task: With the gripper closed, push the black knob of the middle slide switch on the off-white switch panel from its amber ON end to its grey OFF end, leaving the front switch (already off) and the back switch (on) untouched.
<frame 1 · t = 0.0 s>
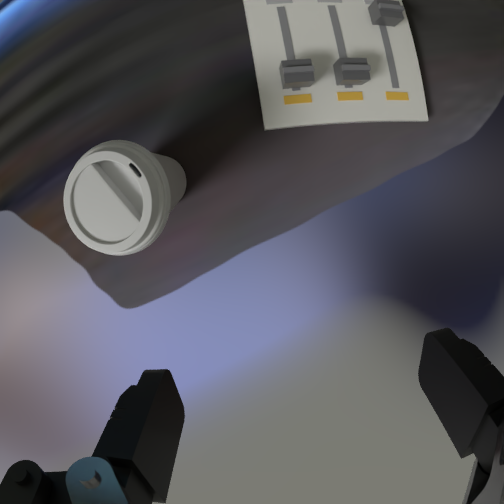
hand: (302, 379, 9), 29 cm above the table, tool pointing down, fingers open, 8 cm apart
middle switch: (352, 71, 28), point 4 cm above the table, slide at 0.0 cm
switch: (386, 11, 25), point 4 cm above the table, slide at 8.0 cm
switch panel: (336, 49, 31), on the table
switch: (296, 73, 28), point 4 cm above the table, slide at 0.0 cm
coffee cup: (160, 182, 36), on the table
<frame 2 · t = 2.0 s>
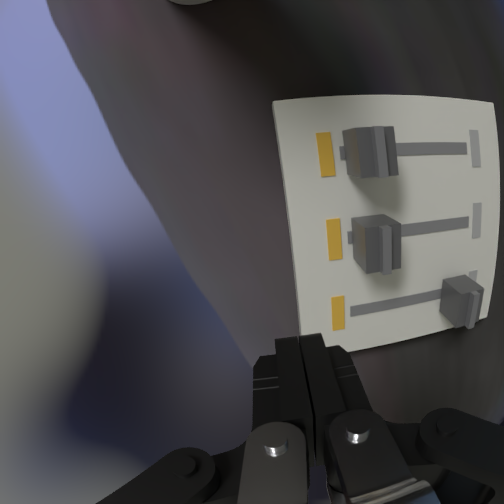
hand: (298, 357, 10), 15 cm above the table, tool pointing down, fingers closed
middle switch: (377, 243, 20), point 4 cm above the table, slide at 0.0 cm
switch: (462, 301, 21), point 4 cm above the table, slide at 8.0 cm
switch panel: (403, 222, 23), on the table
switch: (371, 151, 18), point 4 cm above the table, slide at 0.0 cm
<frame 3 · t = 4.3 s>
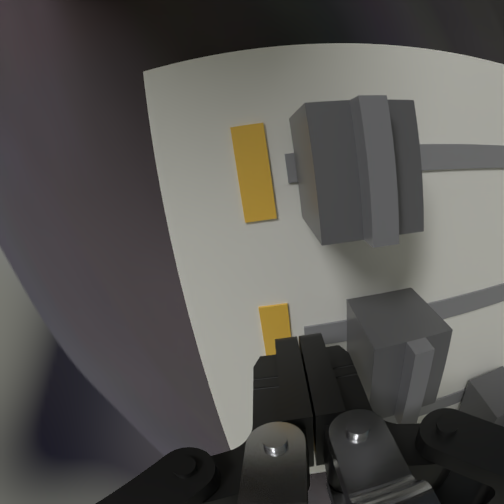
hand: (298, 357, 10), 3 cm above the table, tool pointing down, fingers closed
middle switch: (395, 357, 9), point 4 cm above the table, slide at 1.3 cm, touching gripper
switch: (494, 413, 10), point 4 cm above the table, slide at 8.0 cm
switch panel: (415, 290, 13), on the table
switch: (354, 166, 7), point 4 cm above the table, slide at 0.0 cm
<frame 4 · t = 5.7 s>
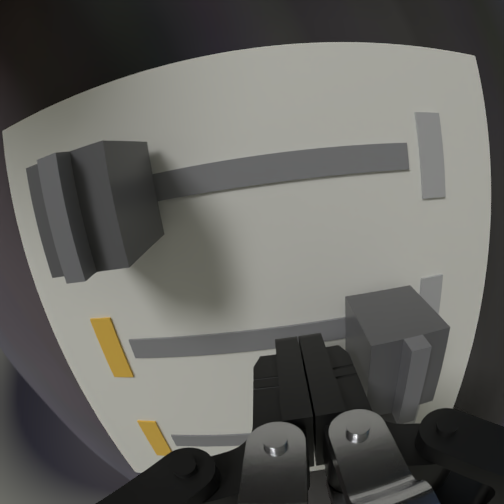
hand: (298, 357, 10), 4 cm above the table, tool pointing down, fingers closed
middle switch: (393, 354, 9), point 4 cm above the table, slide at 8.1 cm, touching gripper
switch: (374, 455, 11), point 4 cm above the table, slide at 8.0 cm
switch panel: (266, 312, 13), on the table
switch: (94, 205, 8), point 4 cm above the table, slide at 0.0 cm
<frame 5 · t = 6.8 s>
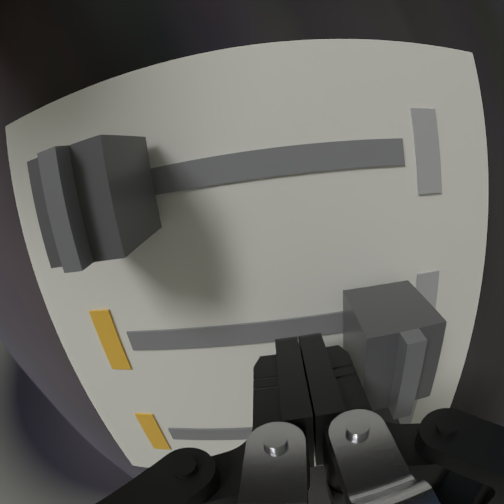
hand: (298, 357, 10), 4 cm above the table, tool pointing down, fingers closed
middle switch: (390, 349, 9), point 4 cm above the table, slide at 8.2 cm, touching gripper
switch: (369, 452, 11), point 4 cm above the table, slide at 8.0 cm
switch panel: (263, 306, 13), on the table
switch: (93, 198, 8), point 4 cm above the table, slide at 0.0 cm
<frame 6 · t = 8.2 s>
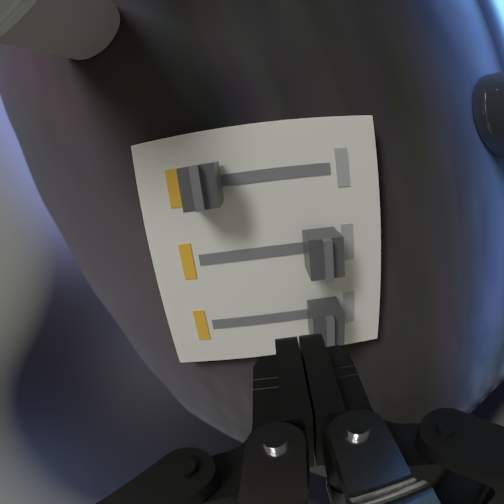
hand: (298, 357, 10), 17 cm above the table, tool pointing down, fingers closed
middle switch: (323, 254, 23), point 4 cm above the table, slide at 8.0 cm
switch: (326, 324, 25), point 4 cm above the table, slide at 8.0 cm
switch panel: (266, 244, 27), on the table
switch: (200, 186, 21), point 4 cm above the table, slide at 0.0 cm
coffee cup: (90, 30, 21), on the table
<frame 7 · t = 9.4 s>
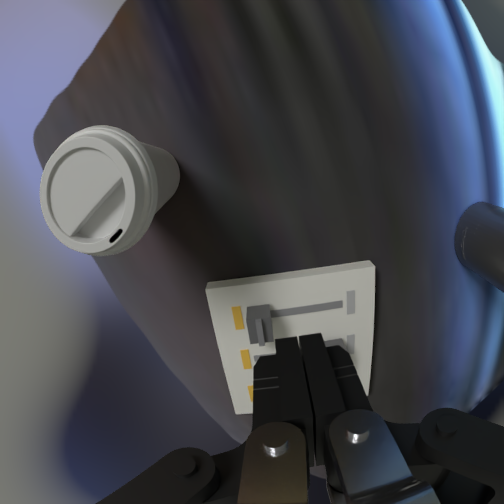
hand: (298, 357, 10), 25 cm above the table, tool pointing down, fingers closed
middle switch: (335, 358, 35), point 4 cm above the table, slide at 8.0 cm
switch panel: (297, 343, 39), on the table
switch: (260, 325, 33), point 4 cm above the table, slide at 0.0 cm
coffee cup: (152, 176, 33), on the table
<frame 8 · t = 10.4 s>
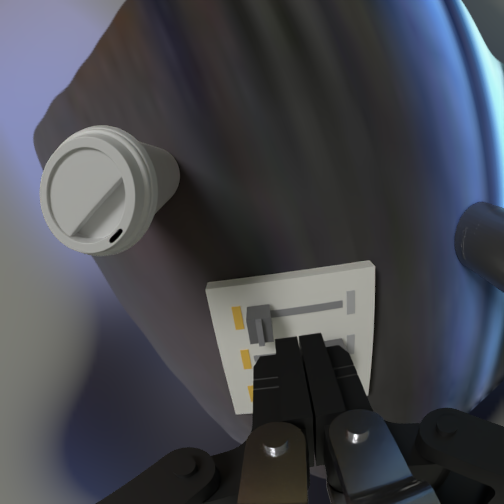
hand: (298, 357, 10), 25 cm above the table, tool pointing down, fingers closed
middle switch: (335, 358, 35), point 4 cm above the table, slide at 8.0 cm
switch panel: (297, 343, 39), on the table
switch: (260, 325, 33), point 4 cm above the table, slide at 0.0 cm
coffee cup: (152, 176, 33), on the table
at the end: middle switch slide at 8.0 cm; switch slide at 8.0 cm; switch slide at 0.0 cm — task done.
